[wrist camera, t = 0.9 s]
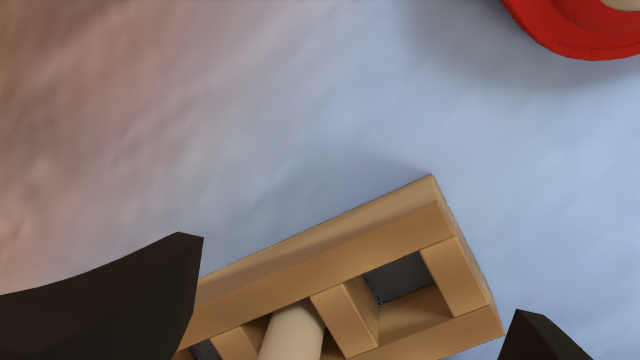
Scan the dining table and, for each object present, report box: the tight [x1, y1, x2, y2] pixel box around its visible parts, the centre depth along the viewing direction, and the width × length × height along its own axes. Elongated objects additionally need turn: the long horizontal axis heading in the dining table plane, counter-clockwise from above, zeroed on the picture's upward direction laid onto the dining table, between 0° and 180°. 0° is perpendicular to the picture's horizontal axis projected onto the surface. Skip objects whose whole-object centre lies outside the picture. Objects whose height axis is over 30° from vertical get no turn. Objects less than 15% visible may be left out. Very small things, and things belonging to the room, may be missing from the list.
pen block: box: [171, 174, 505, 360], centre depth 24 cm, size 6×15×3 cm, turn 118°
